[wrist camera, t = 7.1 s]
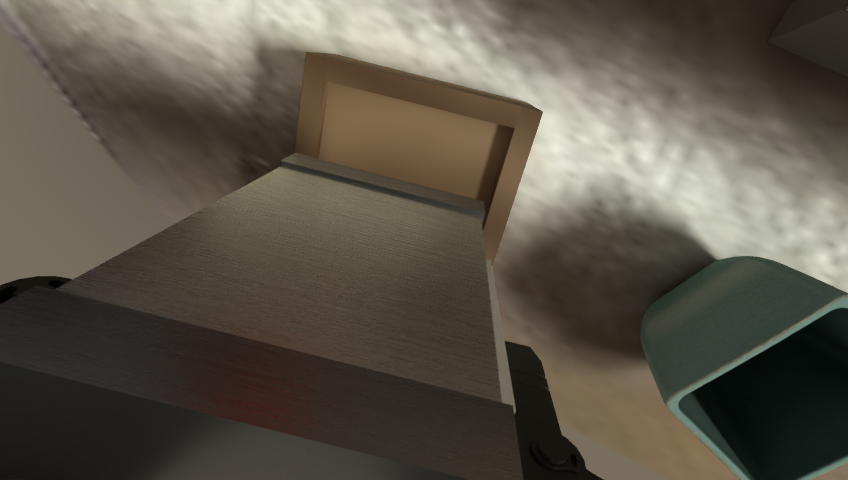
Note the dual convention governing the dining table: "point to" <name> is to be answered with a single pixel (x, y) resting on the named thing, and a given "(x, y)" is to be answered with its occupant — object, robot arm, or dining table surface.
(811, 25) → the alarm clock
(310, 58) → the walnut stand
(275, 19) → the dining table surface
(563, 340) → the dining table surface
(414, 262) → the block
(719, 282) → the flower pot
